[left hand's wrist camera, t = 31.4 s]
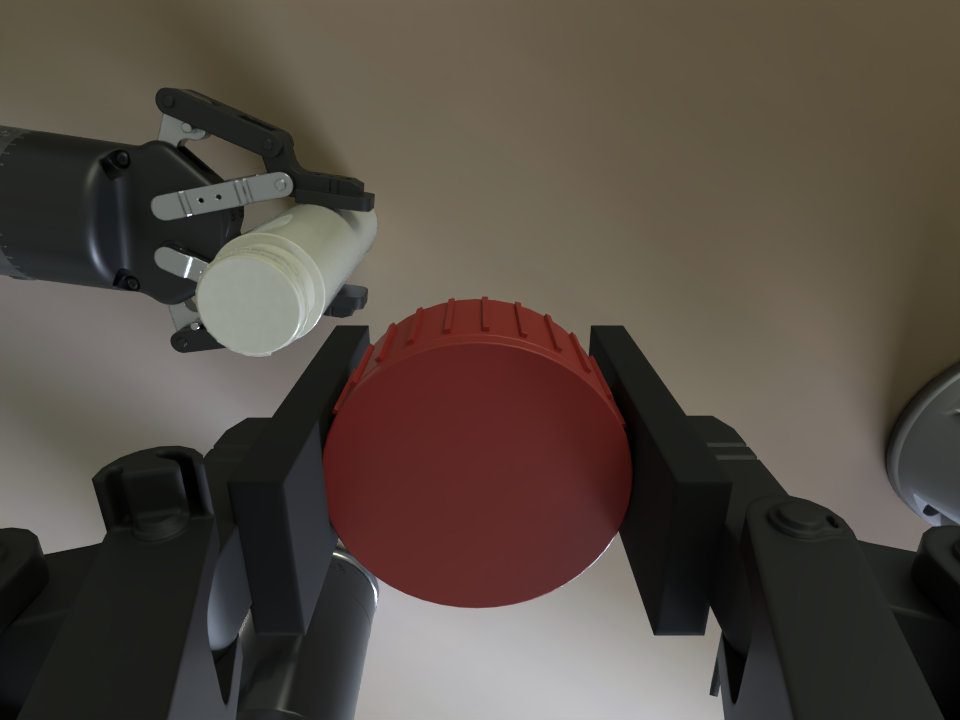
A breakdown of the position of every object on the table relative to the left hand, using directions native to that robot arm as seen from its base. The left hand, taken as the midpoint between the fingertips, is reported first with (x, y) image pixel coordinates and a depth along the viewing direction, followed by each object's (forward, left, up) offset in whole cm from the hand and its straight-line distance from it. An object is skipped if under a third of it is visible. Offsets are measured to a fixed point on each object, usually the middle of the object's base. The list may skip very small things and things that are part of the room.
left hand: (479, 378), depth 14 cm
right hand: (-1, +6, -19) cm, 20 cm away
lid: (0, 0, +4) cm, 4 cm away
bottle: (-1, +8, -25) cm, 27 cm away
